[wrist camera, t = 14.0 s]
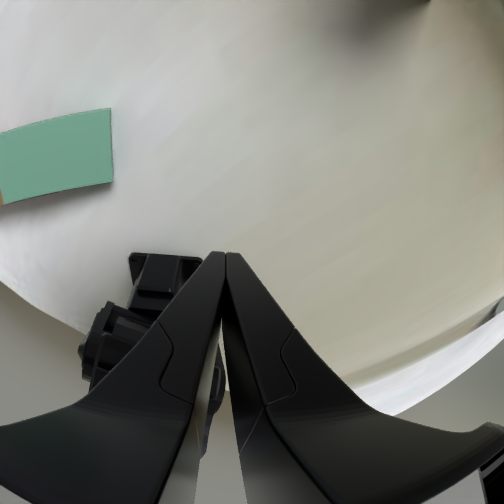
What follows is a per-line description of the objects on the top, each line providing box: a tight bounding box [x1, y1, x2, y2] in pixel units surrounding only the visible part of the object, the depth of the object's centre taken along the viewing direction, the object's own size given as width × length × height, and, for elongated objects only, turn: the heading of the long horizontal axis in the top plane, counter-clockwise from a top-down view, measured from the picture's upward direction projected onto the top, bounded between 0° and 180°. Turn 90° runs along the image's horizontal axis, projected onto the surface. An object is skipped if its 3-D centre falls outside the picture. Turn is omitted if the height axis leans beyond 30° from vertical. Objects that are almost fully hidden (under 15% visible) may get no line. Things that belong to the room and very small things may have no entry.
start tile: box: [0, 108, 114, 204], centre depth 14 cm, size 2×5×9 cm
